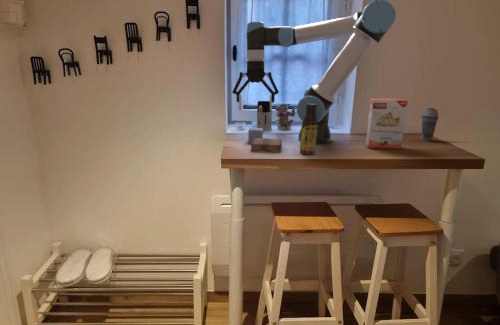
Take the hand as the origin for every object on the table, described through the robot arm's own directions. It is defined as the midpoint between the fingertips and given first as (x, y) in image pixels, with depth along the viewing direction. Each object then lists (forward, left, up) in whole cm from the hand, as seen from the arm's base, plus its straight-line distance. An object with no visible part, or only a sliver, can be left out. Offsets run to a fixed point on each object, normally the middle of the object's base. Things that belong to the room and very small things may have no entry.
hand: (255, 109), depth 164 cm
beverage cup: (-80, -16, -15) cm, 83 cm away
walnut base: (-6, +12, -15) cm, 20 cm away
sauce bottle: (-23, +18, -15) cm, 33 cm away
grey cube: (0, 0, -15) cm, 15 cm away
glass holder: (-1, -27, -15) cm, 31 cm away
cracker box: (-56, +2, -15) cm, 58 cm away
